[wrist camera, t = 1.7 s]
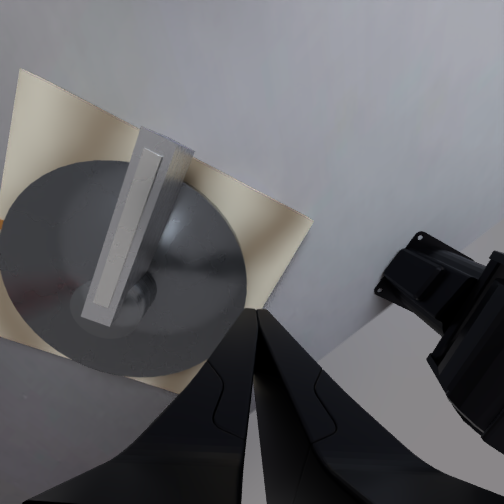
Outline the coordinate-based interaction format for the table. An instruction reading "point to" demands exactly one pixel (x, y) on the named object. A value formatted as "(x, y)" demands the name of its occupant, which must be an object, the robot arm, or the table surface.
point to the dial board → (120, 149)
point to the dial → (124, 262)
